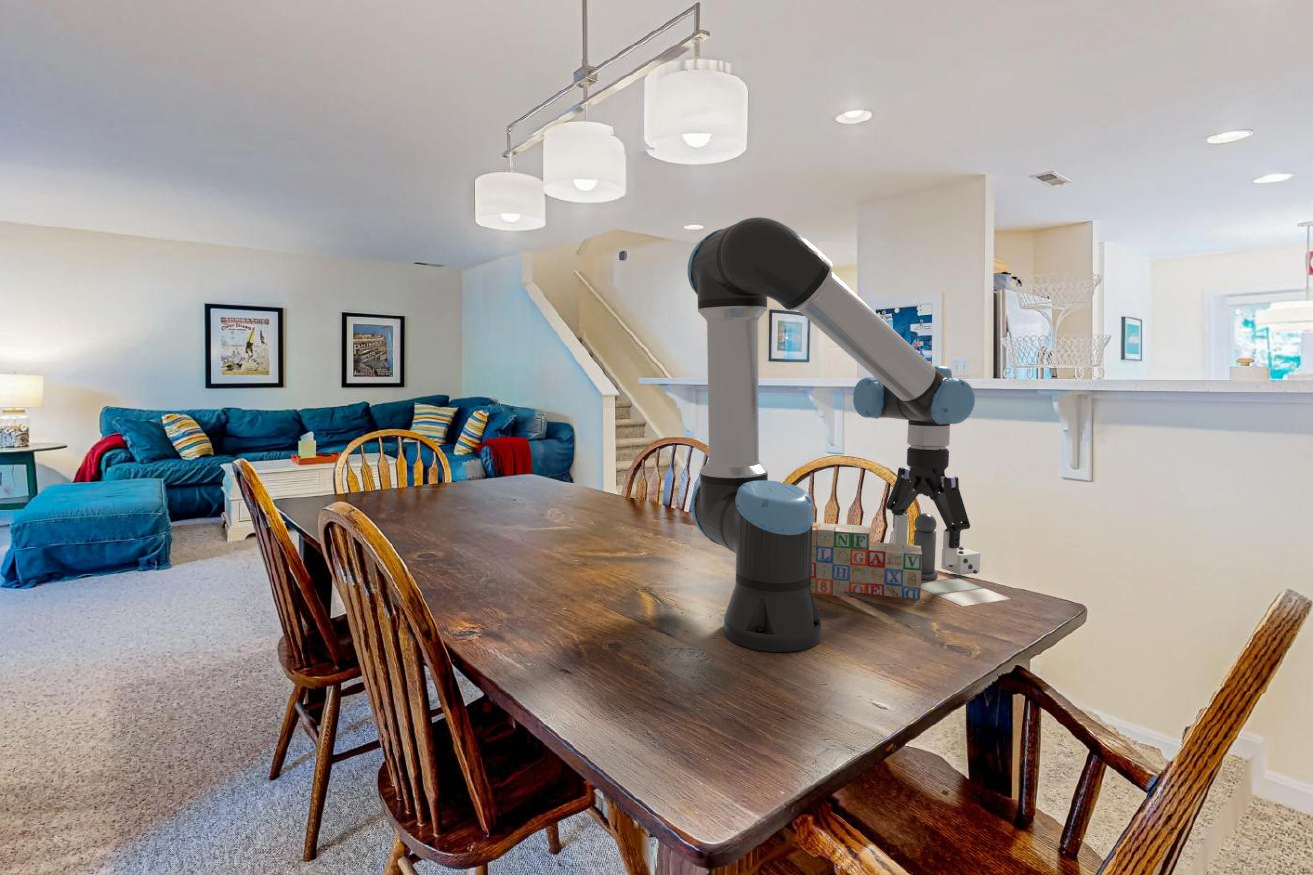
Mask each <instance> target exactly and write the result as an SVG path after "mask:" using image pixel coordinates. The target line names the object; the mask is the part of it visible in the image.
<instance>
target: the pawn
mask: <svg viewBox="0 0 1313 875" xmlns="http://www.w3.org/2000/svg"><path fill="white" fill-rule="evenodd" d="M937 526H938V525H937V520H936V518H935V517H934V516H933V515H932V514H930V513H921V514H918V515H917V516H916V517H915V520H914V527H915V529H914V531H913V545H914V546H921V551H922V566H921V580H936V579H937V578H938V572H937V571H935V570H936V567H935V566H936V542H937V531H936V529H937Z"/></svg>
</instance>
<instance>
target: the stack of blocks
mask: <svg viewBox="0 0 1313 875" xmlns="http://www.w3.org/2000/svg"><path fill="white" fill-rule="evenodd" d="M921 566H922V551H921V546H914V544H907V545H903V544H894V543H888V542H877V541H871V526H870V525H860V524H859V525H856V524H847V523H846V524H843V523H842V524H841V523H838V524H837V523H826V522H825V523H823V522H821V523H820V522H813V525H812V561H811V590H812V594H818V595H827V596H834V597H844V598H854V599H855V597H854V596H852V595H851V594H849V593H860V594H868V595H878V596H885V597H895V598H901V599H902V598H906V599H914V600H921V590H922V589H921Z"/></svg>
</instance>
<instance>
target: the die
mask: <svg viewBox="0 0 1313 875" xmlns="http://www.w3.org/2000/svg"><path fill="white" fill-rule="evenodd" d="M942 557H943V548H942V549H941V558H942ZM940 565H941V566H940V567H941V569H943V570H945V571H948V572H951V573H952V574H957V575H959V576H963V575H971V574H978V573H980V569H981V553H980V552H977V551H976V550H972V549H969V548H965V547H963V546H959V548H957V564H954V565H946V566H945V565H942V562H941V564H940Z"/></svg>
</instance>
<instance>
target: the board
mask: <svg viewBox="0 0 1313 875" xmlns="http://www.w3.org/2000/svg"><path fill="white" fill-rule="evenodd" d="M935 571H937V572H938V578H937V579H936V580H921V590H922V591H926V592H927V593H929V594H932V595H936V596H937V597H939V598H943V600H947V601H949V602H951V603H954V604H956V605H959V606H961V607H968V606H973V605H974V606H976V605H982V604H987V603H988V604H989V603H994V602H1000V601H1008V600H1012V598H1011V597H1008V596H1005V595H1003V594H1000V593H998V592H995V591H993V590H990V589H987V588H984V587H982V586H979V585H976V584H974V583H972V582H969V581H966V580H963V579H961V578H957V577H956V576H953V575H951V574H948V573H945V572H944V571H941V570H937V569H935Z"/></svg>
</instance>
